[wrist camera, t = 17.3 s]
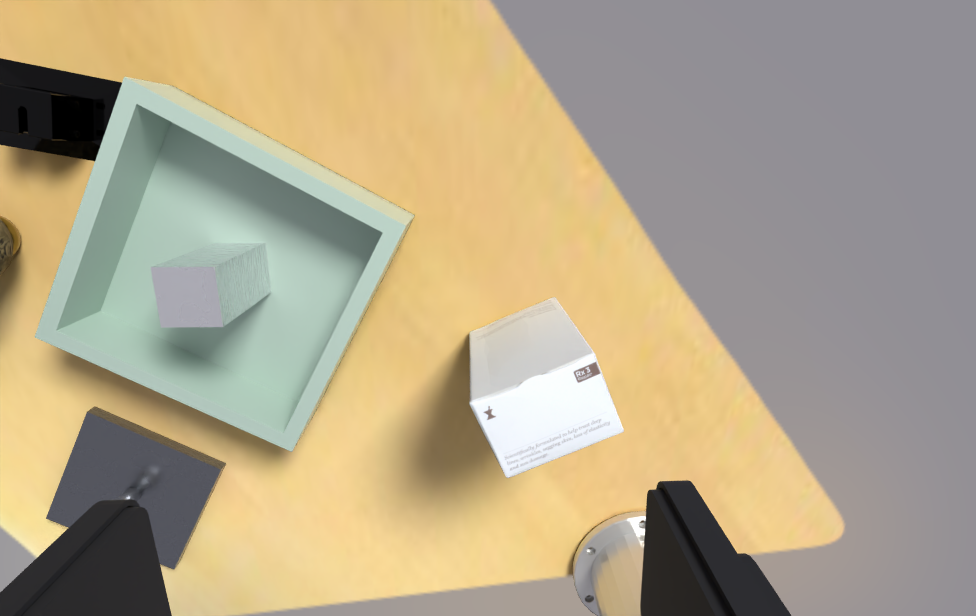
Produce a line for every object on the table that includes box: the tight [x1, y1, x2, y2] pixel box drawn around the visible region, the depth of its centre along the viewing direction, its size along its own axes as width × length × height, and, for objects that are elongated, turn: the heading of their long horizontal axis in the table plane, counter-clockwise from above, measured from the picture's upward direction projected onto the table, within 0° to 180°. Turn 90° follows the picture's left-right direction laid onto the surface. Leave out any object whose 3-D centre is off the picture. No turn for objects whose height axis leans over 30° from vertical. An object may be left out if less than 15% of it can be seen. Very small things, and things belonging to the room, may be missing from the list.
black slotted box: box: [0, 58, 122, 161], centre depth 40 cm, size 13×8×5 cm, turn 79°
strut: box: [150, 243, 271, 328], centre depth 40 cm, size 4×4×9 cm
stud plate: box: [46, 407, 226, 569], centre depth 49 cm, size 12×12×5 cm
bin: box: [35, 77, 415, 452], centre depth 43 cm, size 20×20×6 cm
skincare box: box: [469, 297, 624, 478], centre depth 41 cm, size 8×6×15 cm
